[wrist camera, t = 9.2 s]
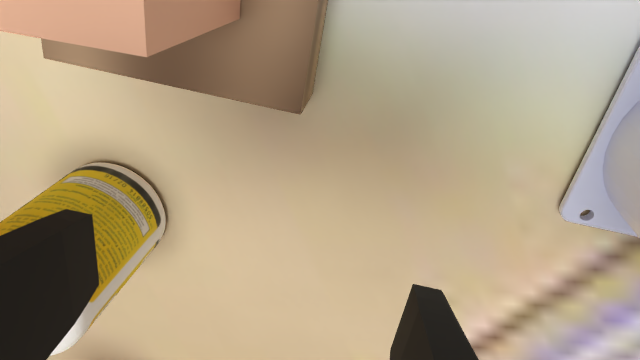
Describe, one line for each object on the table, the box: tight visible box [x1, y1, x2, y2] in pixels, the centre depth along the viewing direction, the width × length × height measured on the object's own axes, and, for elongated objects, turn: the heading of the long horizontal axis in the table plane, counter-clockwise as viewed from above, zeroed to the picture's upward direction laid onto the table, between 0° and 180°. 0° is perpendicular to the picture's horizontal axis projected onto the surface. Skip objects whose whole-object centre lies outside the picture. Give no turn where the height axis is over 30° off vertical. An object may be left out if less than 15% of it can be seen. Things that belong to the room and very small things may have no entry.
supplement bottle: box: [0, 162, 166, 356], centre depth 19 cm, size 5×5×10 cm
